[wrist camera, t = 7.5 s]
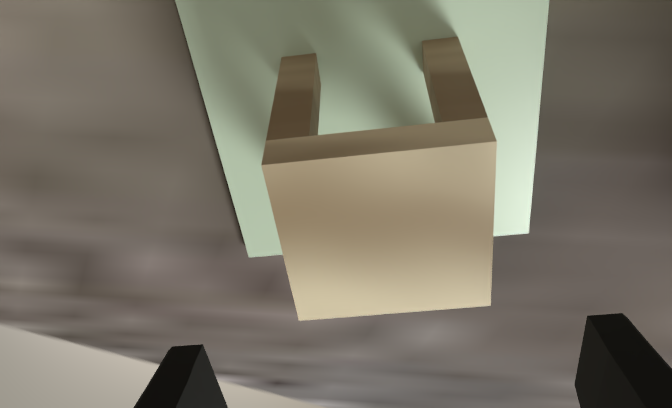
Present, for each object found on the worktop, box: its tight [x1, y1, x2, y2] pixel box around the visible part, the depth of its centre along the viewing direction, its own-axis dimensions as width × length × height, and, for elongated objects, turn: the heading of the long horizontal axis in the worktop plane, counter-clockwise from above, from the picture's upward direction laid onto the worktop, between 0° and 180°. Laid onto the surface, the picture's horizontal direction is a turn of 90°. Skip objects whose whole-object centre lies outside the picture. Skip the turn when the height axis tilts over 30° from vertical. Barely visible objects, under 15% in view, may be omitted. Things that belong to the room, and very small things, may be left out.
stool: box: [261, 37, 497, 321], centre depth 17 cm, size 5×5×6 cm
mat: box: [175, 0, 549, 257], centre depth 19 cm, size 10×10×1 cm
